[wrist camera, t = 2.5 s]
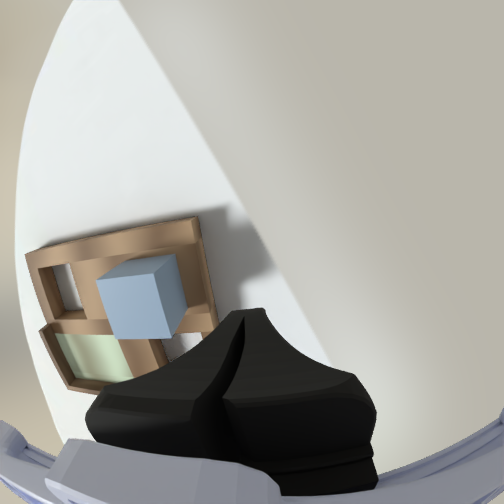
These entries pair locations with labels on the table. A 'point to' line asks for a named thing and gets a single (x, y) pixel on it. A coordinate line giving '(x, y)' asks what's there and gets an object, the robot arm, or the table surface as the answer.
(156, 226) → the brown compartment tray
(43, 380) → the table surface
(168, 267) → the slate block
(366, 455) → the robot arm
